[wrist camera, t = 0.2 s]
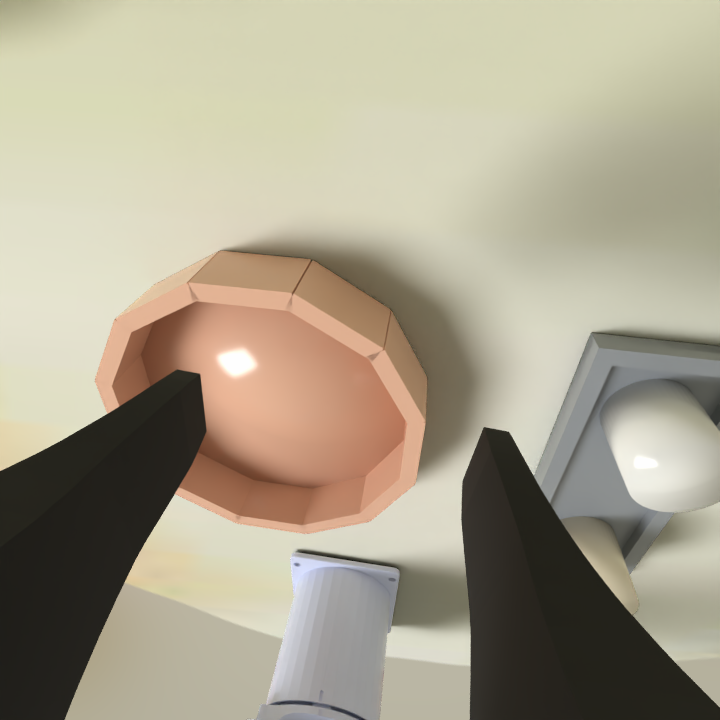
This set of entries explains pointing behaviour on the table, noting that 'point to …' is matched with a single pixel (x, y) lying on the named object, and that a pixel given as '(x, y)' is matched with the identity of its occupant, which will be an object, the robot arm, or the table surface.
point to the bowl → (279, 389)
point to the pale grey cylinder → (663, 445)
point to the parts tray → (589, 444)
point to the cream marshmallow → (604, 556)
